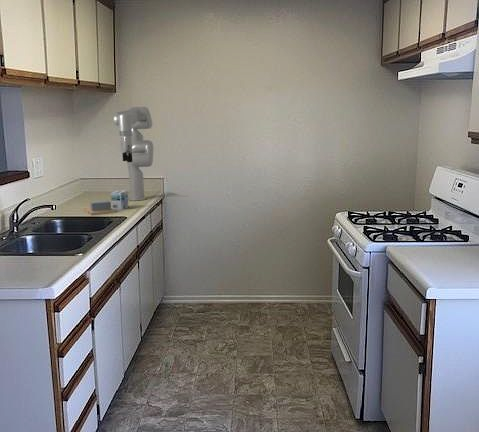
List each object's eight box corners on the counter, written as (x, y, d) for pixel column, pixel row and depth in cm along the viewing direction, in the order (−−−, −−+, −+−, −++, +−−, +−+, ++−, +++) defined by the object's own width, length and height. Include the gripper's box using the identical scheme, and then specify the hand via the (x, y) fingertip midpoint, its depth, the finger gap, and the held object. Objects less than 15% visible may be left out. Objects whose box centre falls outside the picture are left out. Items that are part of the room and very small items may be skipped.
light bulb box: (122, 210, 340) (120, 192, 337) (111, 210, 341) (110, 192, 339) (128, 207, 350) (127, 190, 348) (118, 207, 351) (117, 190, 349)
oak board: (83, 209, 344) (82, 207, 344) (105, 207, 350) (105, 205, 350) (91, 215, 325) (90, 212, 324) (114, 212, 331) (114, 210, 331)
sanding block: (90, 210, 332) (90, 202, 331) (109, 208, 337) (108, 200, 336) (92, 211, 327) (91, 203, 326) (111, 210, 331) (110, 201, 330)
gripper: (116, 133, 351) (118, 161, 354) (123, 134, 336) (125, 162, 339) (127, 133, 354) (129, 160, 357) (135, 134, 339) (137, 162, 342)
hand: (127, 161), depth 348 cm, fingers open, 9 cm apart
